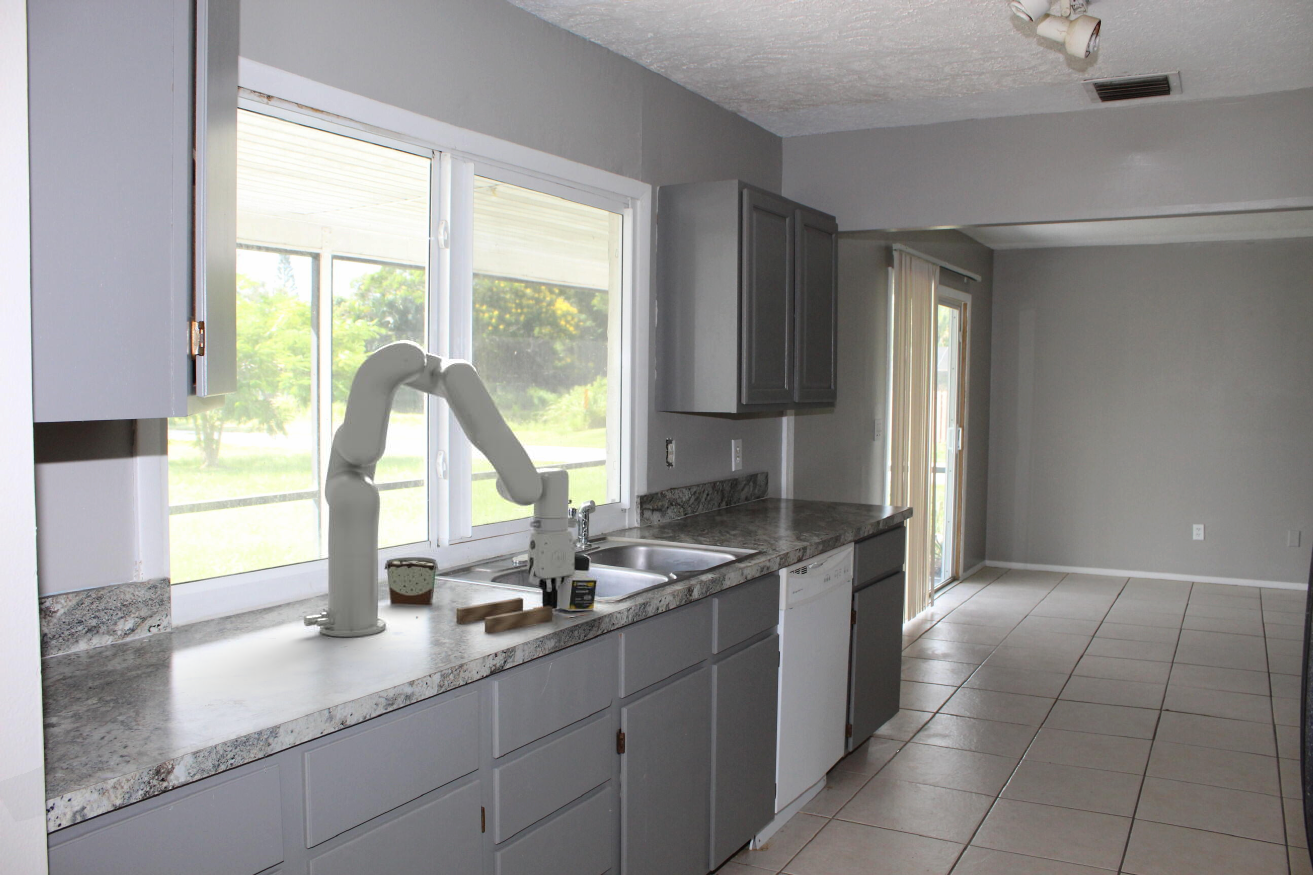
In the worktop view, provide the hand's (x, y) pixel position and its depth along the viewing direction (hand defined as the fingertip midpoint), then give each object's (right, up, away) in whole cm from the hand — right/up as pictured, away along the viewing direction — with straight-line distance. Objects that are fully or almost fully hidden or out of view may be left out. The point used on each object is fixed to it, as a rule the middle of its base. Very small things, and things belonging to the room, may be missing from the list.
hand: (549, 607), depth 208 cm
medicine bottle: (+4, -1, +4) cm, 6 cm away
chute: (-9, -2, -8) cm, 12 cm away
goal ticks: (+2, -1, +2) cm, 3 cm away
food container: (-32, -1, +9) cm, 33 cm away
